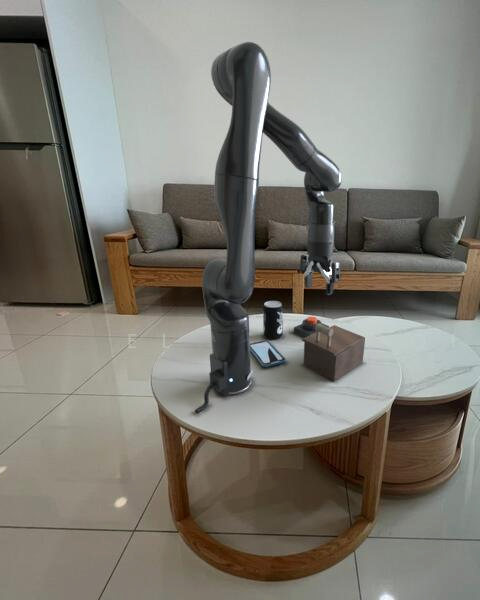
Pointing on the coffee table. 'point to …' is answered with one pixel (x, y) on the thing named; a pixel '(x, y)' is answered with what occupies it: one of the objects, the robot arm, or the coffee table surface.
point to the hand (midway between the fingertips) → (318, 290)
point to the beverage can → (273, 320)
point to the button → (311, 320)
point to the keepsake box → (333, 360)
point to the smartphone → (266, 353)
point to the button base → (307, 328)
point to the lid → (333, 339)
